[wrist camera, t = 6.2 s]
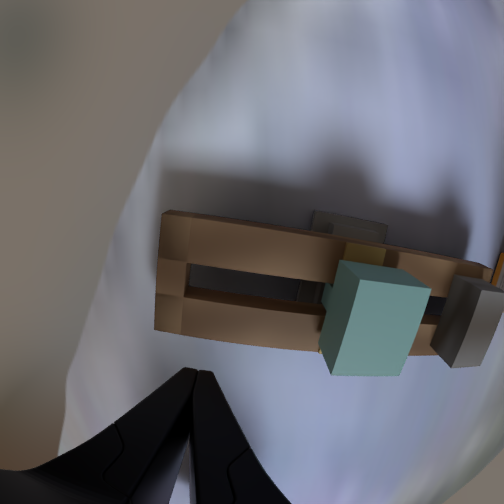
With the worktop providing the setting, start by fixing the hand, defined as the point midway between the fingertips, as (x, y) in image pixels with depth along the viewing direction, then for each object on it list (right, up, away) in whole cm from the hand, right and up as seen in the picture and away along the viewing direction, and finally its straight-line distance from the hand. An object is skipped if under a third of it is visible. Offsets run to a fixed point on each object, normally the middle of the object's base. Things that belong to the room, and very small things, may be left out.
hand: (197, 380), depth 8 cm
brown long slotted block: (+7, +2, +12) cm, 14 cm away
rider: (+8, +1, +10) cm, 13 cm away
